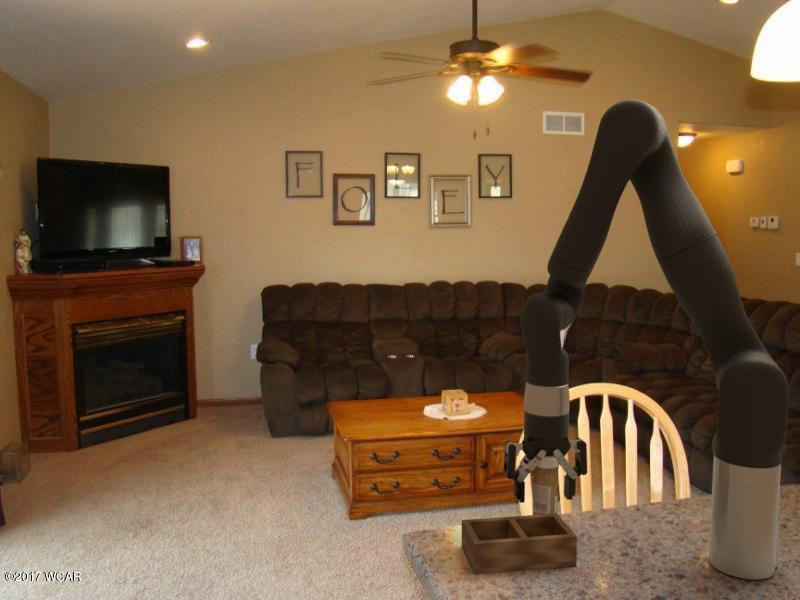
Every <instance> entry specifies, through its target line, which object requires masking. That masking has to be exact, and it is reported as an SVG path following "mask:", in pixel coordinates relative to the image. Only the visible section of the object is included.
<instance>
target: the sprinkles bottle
mask: <svg viewBox="0 0 800 600" xmlns="http://www.w3.org/2000/svg"><path fill="white" fill-rule="evenodd" d="M559 466H560V465H559V461H558V459H557V458H556V457H555V456H554V455H553V456H544V458H543V459H542V460H541V461H540V462H539V463H538V465H537V466H536V467H535V469H534V470H533V471H532V495H531V496H532V499H531V500H532V503H531V504H532V505H531V506H532V515H543V514H559V513H558V511H559V486H558V484H559V483H558V482H559Z"/></svg>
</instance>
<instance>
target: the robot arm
mask: <svg viewBox="0 0 800 600" xmlns="http://www.w3.org/2000/svg"><path fill="white" fill-rule="evenodd" d="M668 131H669V130H668V129H667V124H666V122H665V118H664V117H663V115H662V114H661V112H660V111H659V110H658V109H657V108H656V107H654V106H653V105H651V104H650V103H648V102H646V101H643V100H639V99H635V98H634V99H632V98H630V99H625V100H624V99H623V100H621V101H618V102H616V103H613V105H611V106H609V108H608V109H607V110H606V111H605V112H604V113H603V115H602V117H601V118H600V121H599V124H598V128H597V131H596V136H595V140H594V144H593V148H592V151H591V155H590V159H589V162H588V165H587V169H586V172H585V175H584V179H583V181H582V184H581V186H580V189H579V192H578V194H577V196H576V199H575V201H574V204H573V206H572V209H571V211H570V212H569V215H568V217H567V219H566V222H565V224H564V225H563V227H562V230H561V232H560V234H559V237H558V238H557V241H556V243H555V246H554V248H553V250H552V252H551V255H550V257H549V259H548V263H547V267H546V270H547V272H548V274H549V277H548V280H547V282H546V283H547V284H546V286H545V288H544V290H543V292H538V293H535V294H533V295H531V296H530V297H529V296H528V298H527V299H526V300H525V302H524V303H523V306H522V309H521V311H520V312H521V314H520V328H521V335H522V340H523V346H524V351H525V354H526V373H525V374H526V377H525V379H526V381H525V388H524V398H523V399H524V400H523V440H522V442H512V441H510V440H507V441H506V442H505V444H504V454H503V455H504V456H503V467H502V468H503V469H502V471H503V472H502V473H503V474H504V476H506V478H507V479H509V480H513V496H514V497H515V498H516V500H517V501H518V502H519V503H525V500H526V497H525V495H526V482H525V480H526V478H527V477H528V476H529V474H531V473H533V470H534V469H535V467H536V466H537V465H538V463H539V462H540V461H541V460H542V459H543V458H544V456H553V455H554V456H555V457H556V458H557V459H558V461H559V466H560V467H561V468H562V469H563V471H564V472H565V475H563V476H564V477H563V497H564V498H565V499H566V500H567V501H571V500H573V497H575V496H576V490H577V489H576V486H577V481H576V480H577V478H579V476H586V475H588V451H587V450H588V447H587V446H588V445H587V442H585V440H583V439H582V438H580V437H579V436H578V437H575V439H571V440H569V434H570V433H569V432H570V386H569V376H570V374H569V371H570V370H569V369H570V358H569V354H568V352H567V351H566V350H565V349H564V348H562V339H561V332H562V331H564V330H565V329H567V328H568V327H570V325H571V324H572V323H573V322H574V320H575V319H576V317H577V315H578V314H579V313H578V312H579V311H580V308H581V305H582V302H583V299H584V298H583V297H584V294H585V291H586V287H587V282H588V279H589V277H590V276H591V274H592V273H593V269H594V268H595V265H596V264H597V261H598V259H599V257H600V255H601V252H602V250H603V248H604V246H605V243H606V240H607V238H608V235H609V232H610V229H611V225H612V222H613V219H614V216H615V212H616V210H617V207H618V204H619V201H621V200H620V199H621V198H622V195H623V192H624V191H625V189H626V187H627V185H628V183H629V181H630V182H631V183H630V184H631V185H632V187H633V188H634V190H635V193H636V195H637V197H638V200H639V202H640V206H641V209H642V213H643V214H642V215H643V217H644V222H645V225H646V226H645V227H646V231H647V233H648V239H649V241H650V244H651V247H652V250H653V252H654V255H655V258H656V261H657V262H658V264H659V267H660V268H661V271H662V274H663V275H664V277H665V280H666V281H667V283H668V286H669V287H670V288H671V291H672V292H673V294H674V296H675V299H677V300H678V302H679V304H680V305H681V307H682V309H683V310H684V312H685V313H686V315H687V316H688V318H689V319H690V320H691V322H692V324H693V325H694V326H695V328H696V330H697V332H698V333H699V336H700V338H701V340H702V342H703V345H704V348H705V351H706V353H707V356H708V359H709V362H710V365H711V368H712V371H713V375H714V379H715V384H716V387H717V391H718V401H717V416H716V419H717V421H716V432H715V435H714V442H713V443H714V445H713V461H712V462H713V463H712V483H711V509H710V527H709V551H708V553H709V554H708V561H709V564H710V565H712V567H713V568H715V569H716V570H718V571H720V572H722V573H724V574H726V575H728V576H731V577H736V578H740V579H745V580H754V581H755V580H756V581H757V580H758V581H759V580H765V579H769V578H771V577H772V576H774V574H775V573H776V570H775V569H776V568H777V567H779V556H780V555H779V553H780V537H781V522H782V521H781V520H782V508H781V506H780V494H781V493H780V491H781V473H782V457H783V451H784V448H785V445H786V439H787V428H788V427H787V426H788V417H789V403H790V402H789V401H790V390H789V389H790V388H789V383H788V380H787V377H786V375H785V373H784V372H783V371H782V369H781V368H780V367H779V365H778V364H777V362H775V360H774V359H773V358H772V356H771V355H770V354H769V352H768V351H767V349H766V348H765V346H764V345H763V342H762V341H761V339H760V337H759V335H758V334H757V333H756V331H755V329H754V327H753V326H752V324H751V322H750V320H749V318H748V316H747V314H746V311H745V308H744V304H743V301H742V297H741V294H740V290H739V286H738V283H737V280H736V277H735V272H734V271H733V268H732V264H731V262H730V260H729V257H728V255H727V253H726V250H725V249H724V247H723V246H724V245H722V242H721V240H720V238H719V236H718V235H717V232H716V230H715V228H714V226H713V225H712V223H711V221H710V218H709V217H708V215H707V213H706V212H705V209H704V208H703V206H702V204H701V203H700V201H699V199H698V197H697V196H696V195H695V192H694V191H693V189H692V188H691V187H690V185H689V183H688V181H687V179H686V177H685V175H684V173H683V171H682V169H681V167H680V165H679V161H678V158H677V156H676V154H675V151H674V148H673V147H674V146H673V144H672V141H671V137H670V135H669V132H668ZM570 450H572V451H573V453H574V464H575V465H574V466H572V465H571V464H570V463H569V461H568V460H567V459H566V456H567V454H568V453H569V451H570ZM520 451H522V452H523V453H524V455H523V457H522V458H521V460H520V461H519V464H518V466H517V467H516V457H518V456H519V455H520ZM515 467H516V468H515Z"/></svg>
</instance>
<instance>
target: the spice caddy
mask: <svg viewBox="0 0 800 600" xmlns="http://www.w3.org/2000/svg"><path fill="white" fill-rule="evenodd" d="M461 549H462V552H463V554H464V556H465V558H466V560H467V562H468V563H469V566H470V567H471V569H472V571H473V574H474V575H482V574H496V573H497V574H498V573H506V572H518V571H519V572H520V571H521V572H522V571H530V570H532V571H533V570H542V569H543V570H544V569H545V570H546V569H555V568H556V569H557V568H559V569H560V568H568V567H577V561H578V559H577V557H578V555H577V554H578V536H577V535H576V534H575V532H574V531H573V530H572V529H571V528H570V526H569V525H568V524H567V523H566V522H565V521H564V520H563V518H562V517H560V515H559V513H557V514H543V515H533V514H531V515H530V514H527V515H516V516H515V515H514V516H502V517H500V516H499V517H489V518H488V517H487V518H475V519H471V518H470V519H462V520H461Z"/></svg>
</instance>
